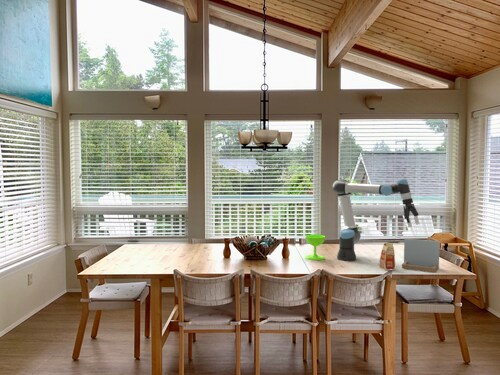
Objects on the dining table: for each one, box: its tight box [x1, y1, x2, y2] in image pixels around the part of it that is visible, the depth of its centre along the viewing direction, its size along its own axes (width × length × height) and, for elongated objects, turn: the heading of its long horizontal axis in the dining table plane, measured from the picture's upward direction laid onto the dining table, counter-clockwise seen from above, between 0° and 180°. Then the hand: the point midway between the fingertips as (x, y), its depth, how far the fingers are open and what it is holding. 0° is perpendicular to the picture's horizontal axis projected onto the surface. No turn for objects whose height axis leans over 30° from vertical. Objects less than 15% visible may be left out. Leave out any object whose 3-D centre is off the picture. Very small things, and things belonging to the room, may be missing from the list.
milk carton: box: [378, 241, 396, 271], centre depth 283 cm, size 9×9×20 cm
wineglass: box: [304, 234, 326, 261], centre depth 317 cm, size 16×16×18 cm
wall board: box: [401, 238, 441, 273], centre depth 284 cm, size 24×15×20 cm, turn 59°
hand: (414, 225), depth 300 cm, fingers open, 13 cm apart
